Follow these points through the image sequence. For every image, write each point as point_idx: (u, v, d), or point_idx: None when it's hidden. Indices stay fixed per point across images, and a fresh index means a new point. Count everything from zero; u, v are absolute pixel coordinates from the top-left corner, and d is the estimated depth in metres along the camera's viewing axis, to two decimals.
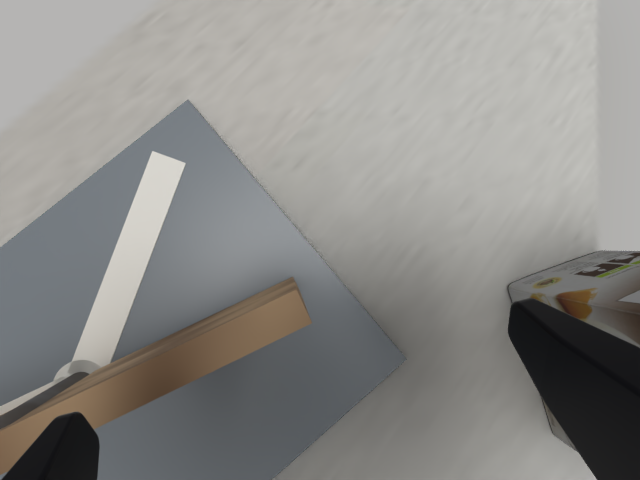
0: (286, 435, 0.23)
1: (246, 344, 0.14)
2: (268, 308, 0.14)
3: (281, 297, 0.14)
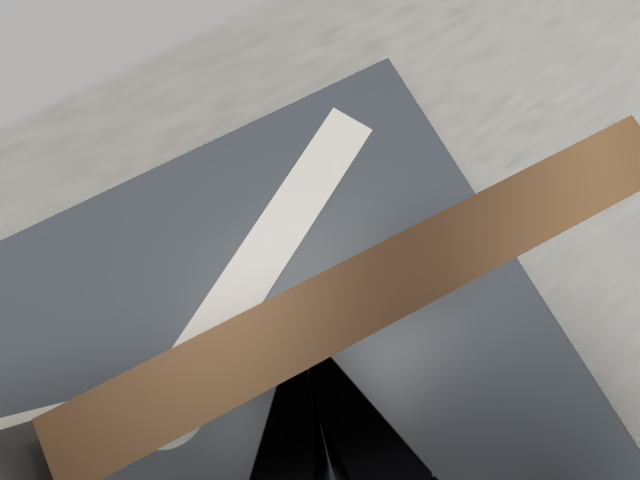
0: None
1: (557, 213, 0.07)
2: (587, 146, 0.07)
3: (606, 129, 0.08)
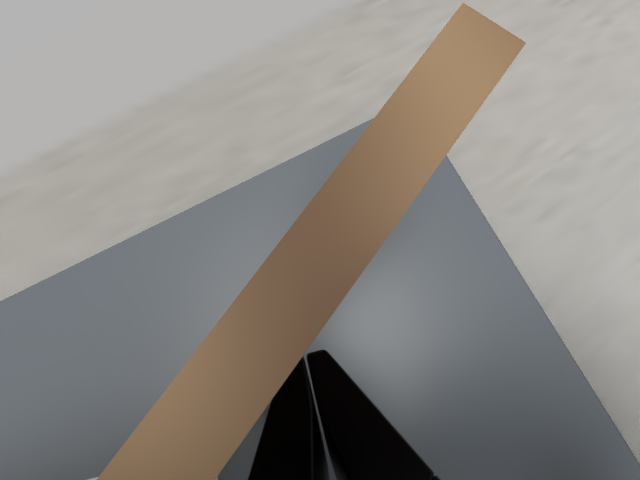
0: None
1: (436, 134, 0.07)
2: (435, 53, 0.07)
3: (446, 28, 0.07)
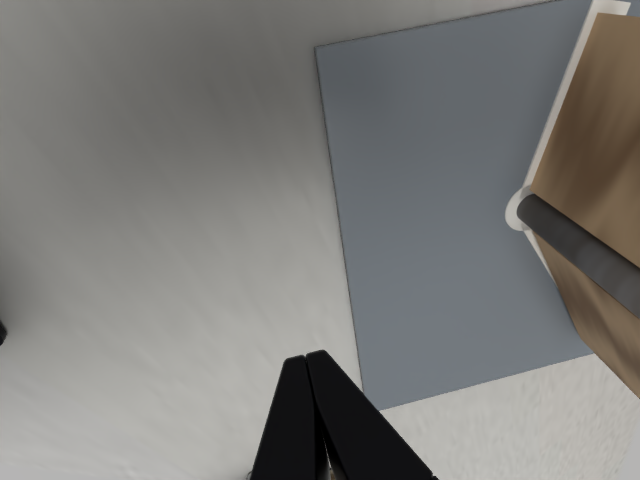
0: (376, 330, 0.25)
1: None
2: None
3: None
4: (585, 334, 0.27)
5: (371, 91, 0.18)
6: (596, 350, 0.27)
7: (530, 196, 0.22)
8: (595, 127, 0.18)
